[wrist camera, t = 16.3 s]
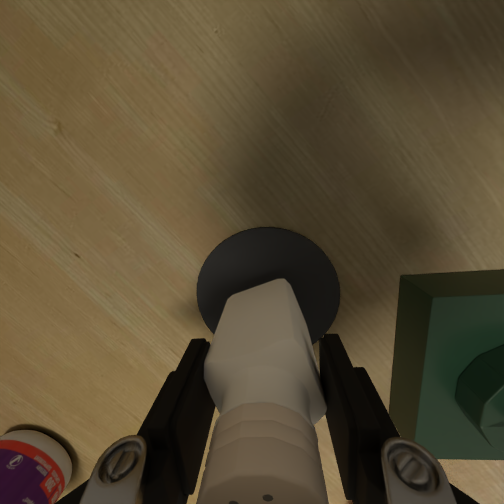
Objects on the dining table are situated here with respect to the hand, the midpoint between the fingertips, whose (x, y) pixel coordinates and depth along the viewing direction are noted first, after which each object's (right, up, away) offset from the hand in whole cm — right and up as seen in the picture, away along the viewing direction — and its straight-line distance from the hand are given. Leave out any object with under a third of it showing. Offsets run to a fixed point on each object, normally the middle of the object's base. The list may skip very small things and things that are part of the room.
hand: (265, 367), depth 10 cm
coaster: (+1, +2, +7) cm, 7 cm away
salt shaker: (0, +1, +5) cm, 5 cm away
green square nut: (+15, -2, +7) cm, 16 cm away
